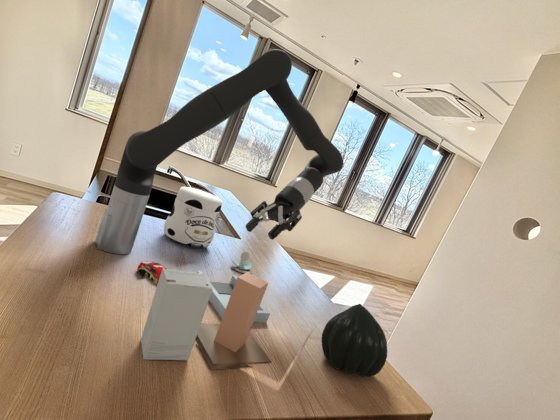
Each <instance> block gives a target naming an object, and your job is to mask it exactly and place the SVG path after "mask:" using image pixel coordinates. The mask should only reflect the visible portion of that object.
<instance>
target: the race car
mask: <svg viewBox="0 0 560 420" xmlns="http://www.w3.org/2000/svg"><path fill="white" fill-rule="evenodd" d="M163 268H164V269H168V268H167V267H165V266H164V265H163V264H162V263H160V262H155V261H152V260H145V261H141V262H140V263H139V264H138V266H137V268H136V272H137V273H138V274H139V276H140V277H141V278H143V279H147V278H148V279H149V280H150V281H152V283H154V284H155V285H157V284H158V282H159V278H160V275H161V272H162V269H163Z"/></svg>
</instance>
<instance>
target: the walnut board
mask: <svg viewBox="0 0 560 420" xmlns="http://www.w3.org/2000/svg"><path fill="white" fill-rule="evenodd" d="M219 326H220V323H207V322H206V323H203V322H201V324H200V327H199V330H198V333H197V336H196V339H195V342H196V343H197V346H198V348H199V349H200V351H201V353H202V354H203V356H204V358H205V360H206V362H207V365H208V366H209V368H210V370H213V371H214V370H229V369H231V370H232V369H247V368H248V369H251V368H253V367H252V366H250V365H248V364H262V363H263V364H267V363H268V364H270V363H272V360H271V359H270V357H269V356H268V355H267V353H266V352H265V351H264V349H263V348H262V347H261V345H260V344H259V343H258V341H256V339H255V338H254V336H253V335H252V334H251V331H250V332H249V335H248V337H247V340H246V343H245V344H244V345H243V346H242V347H241V348H240V349H239V350H238V351H237V352H236V353H235V352H234V351H232V350H230V349H228V348H226V347H225V346H223V345H221V344H219V343H218V342H216V341H214V339H215V336H216V334H217V331H218V328H219Z"/></svg>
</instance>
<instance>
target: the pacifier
mask: <svg viewBox="0 0 560 420" xmlns="http://www.w3.org/2000/svg"><path fill="white" fill-rule="evenodd" d="M249 259H250V254H249V252H248V251H243V252H242V253H241V255H240V261H239V263H238V262H235V261H234V260H232V261H231V262H232V263H233V264H234V266H235V267H234V270H235V271H237V272H239V273H242V274H245V273H247V272H248V273H250V274H252V273H253V271H252V270H251V269H252V268H253V264H252V263H251V262H247V261H248V260H249Z"/></svg>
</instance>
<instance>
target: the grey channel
mask: <svg viewBox="0 0 560 420" xmlns="http://www.w3.org/2000/svg"><path fill="white" fill-rule="evenodd" d="M196 273H202V274H204V273H203V271H200V270H198V271H197V272H196ZM237 277H238V276H237V275H232V276H231V278H230V281H229V282H223V281H211V280H209V279H208V281H209V283H210V285H211V287H212V288H213V291H212V293H211V296H210V298H209V301H208V302H210V304H211V306H212V307H213V308H214V310H215V311H216V313H217V314H218V315H219V317H220V318H221V319H222V318H223V315H224V312H225V310H226V307H227V304H228V302H229V299H230V296H231V293H232V291H233V288H234V285H235V283H236V280H237ZM270 315H271V313H270V311H269V310H268V309H266V308H265V306H264V305H263V303H261V304H260V306H259V309H258V311H257V314H256V317H255V319H254V322H253V323H260V324H261V323H263V324H264V323H265V324H267V323H268V320H269V318H270Z"/></svg>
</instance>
